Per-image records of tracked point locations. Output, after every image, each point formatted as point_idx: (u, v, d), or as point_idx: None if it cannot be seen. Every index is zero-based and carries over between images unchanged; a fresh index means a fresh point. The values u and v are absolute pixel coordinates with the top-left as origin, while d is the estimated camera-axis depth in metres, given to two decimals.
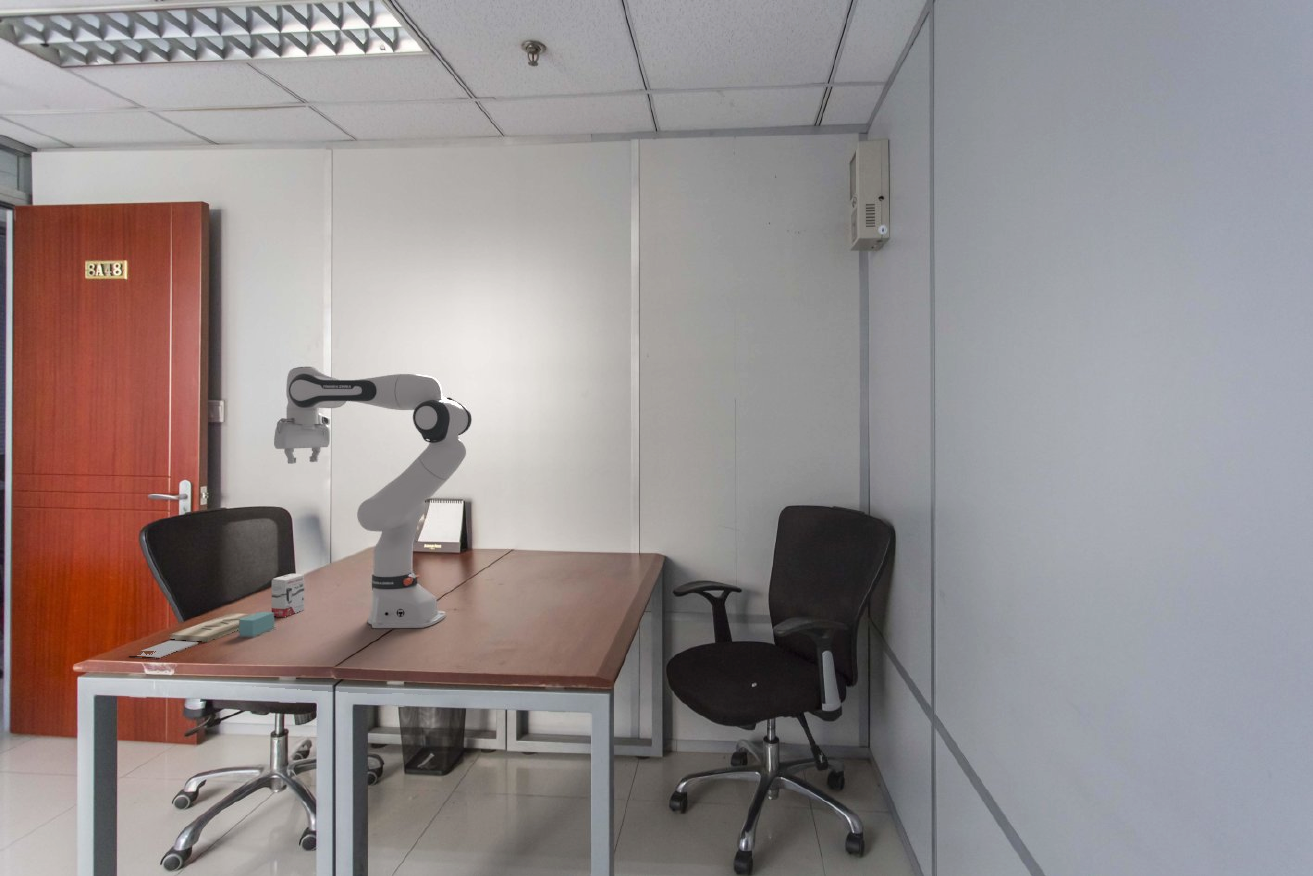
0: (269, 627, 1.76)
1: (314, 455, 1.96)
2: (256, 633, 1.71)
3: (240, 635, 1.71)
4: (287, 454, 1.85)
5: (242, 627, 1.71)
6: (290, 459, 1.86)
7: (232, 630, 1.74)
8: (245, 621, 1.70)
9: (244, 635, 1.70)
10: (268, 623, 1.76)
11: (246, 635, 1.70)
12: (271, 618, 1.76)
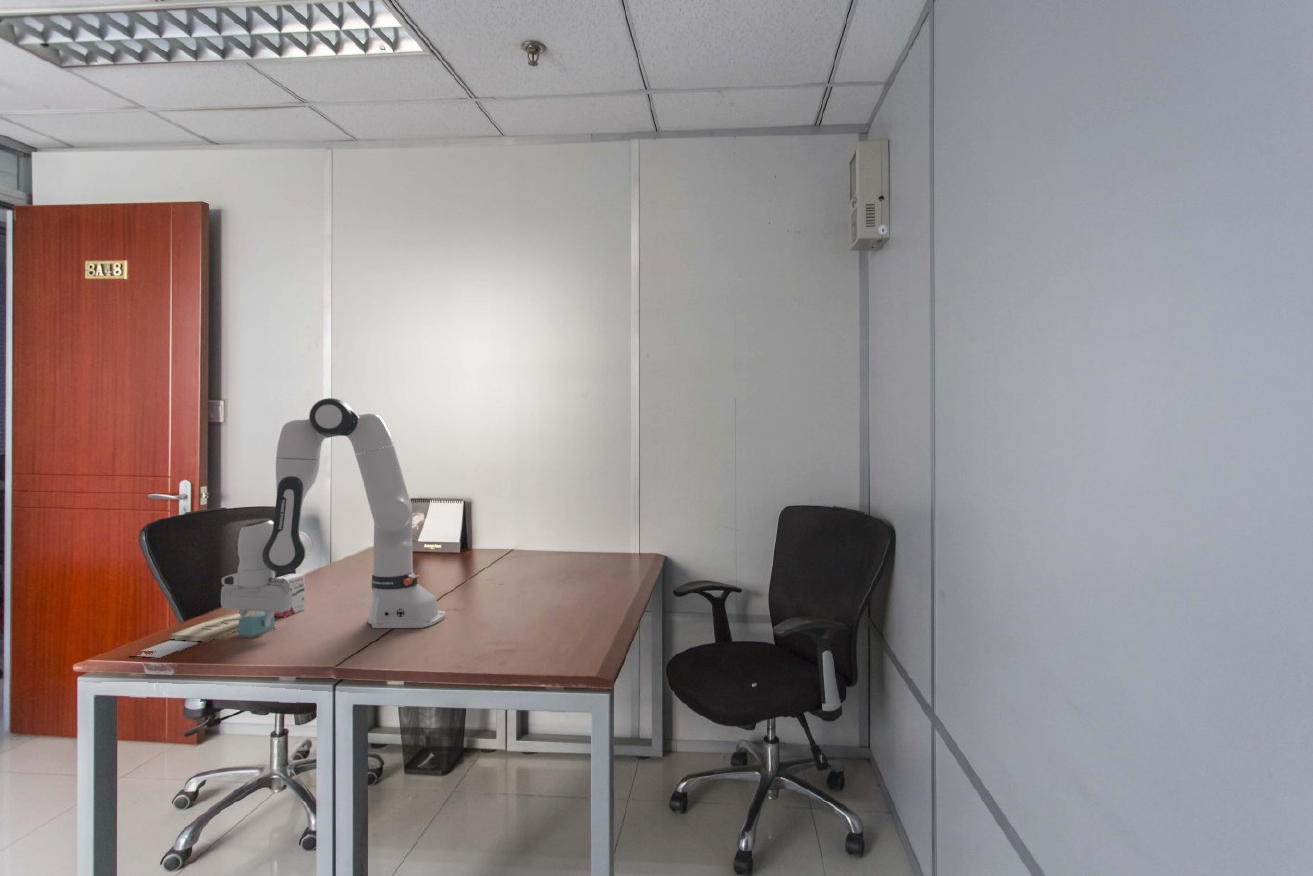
0: (269, 627, 1.76)
1: None
2: (255, 632, 1.71)
3: (240, 634, 1.71)
4: (269, 616, 1.73)
5: (242, 626, 1.71)
6: (268, 621, 1.74)
7: (232, 630, 1.74)
8: (244, 620, 1.70)
9: (244, 634, 1.70)
10: None
11: (245, 634, 1.70)
12: None
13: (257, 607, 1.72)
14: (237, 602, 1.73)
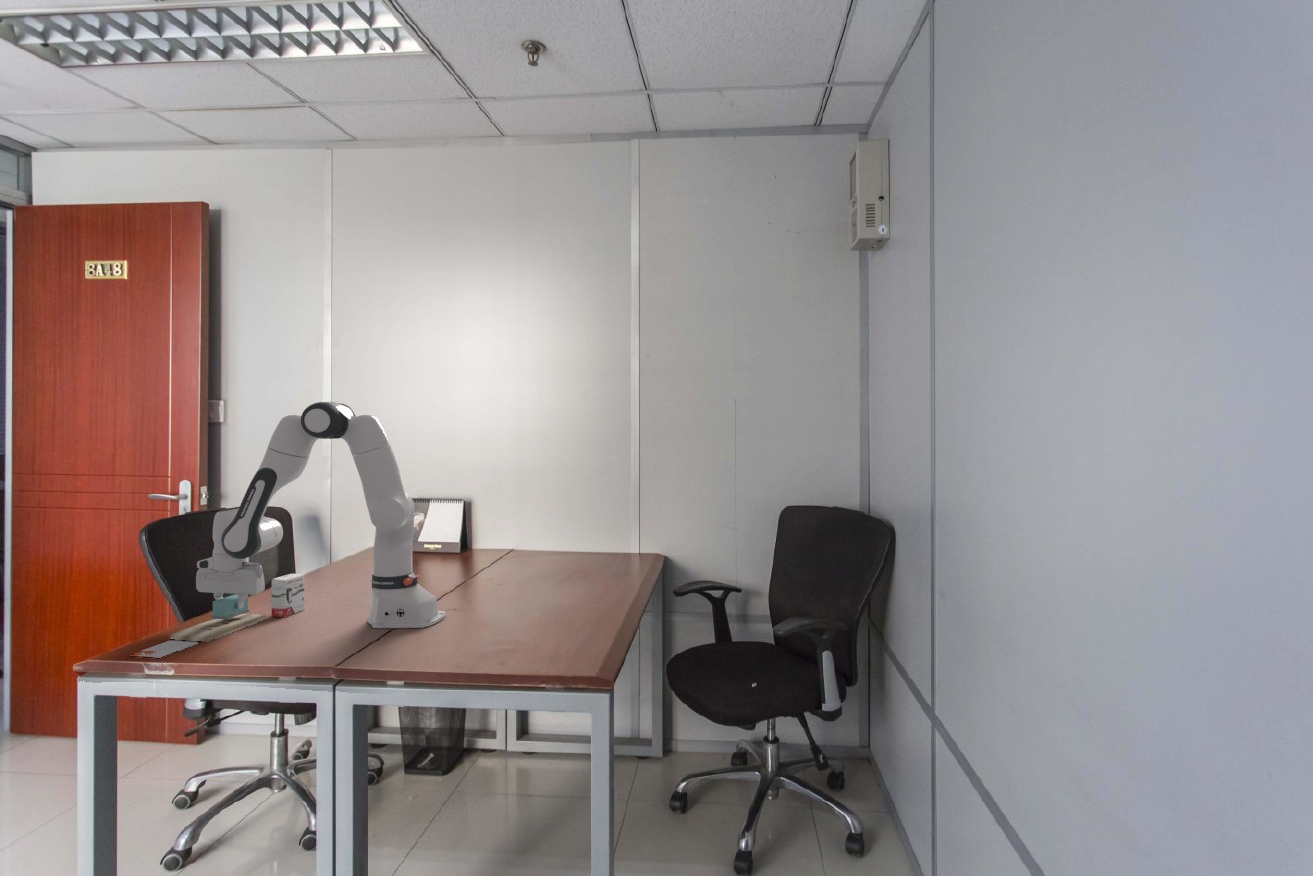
0: (242, 609, 1.82)
1: None
2: (229, 614, 1.78)
3: (214, 616, 1.78)
4: (242, 599, 1.80)
5: (215, 608, 1.77)
6: (242, 604, 1.80)
7: (232, 630, 1.74)
8: (218, 602, 1.77)
9: (217, 616, 1.77)
10: None
11: (219, 616, 1.77)
12: None
13: (231, 590, 1.79)
14: (211, 585, 1.80)
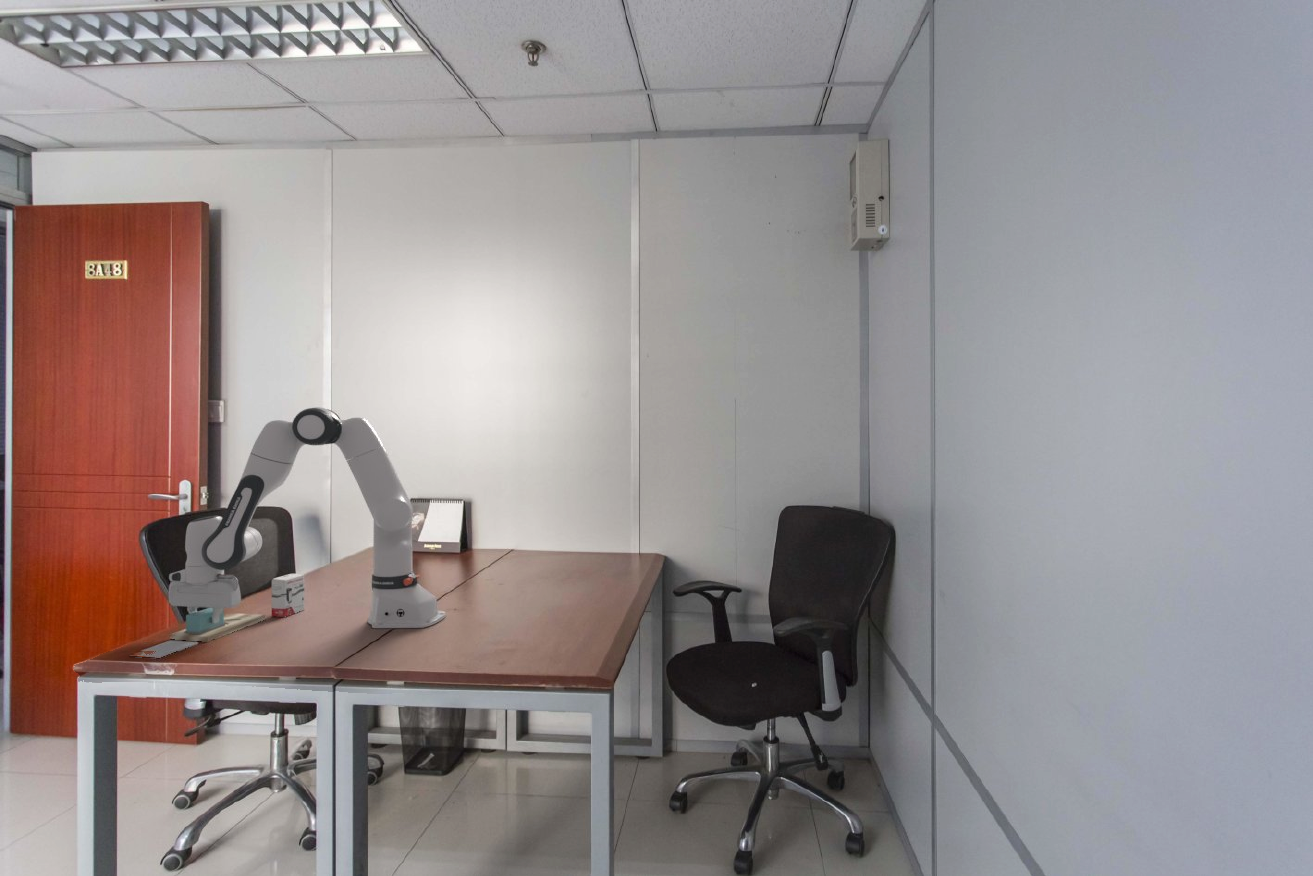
0: (218, 623, 1.74)
1: None
2: (203, 629, 1.69)
3: (187, 631, 1.69)
4: (217, 613, 1.71)
5: (189, 622, 1.69)
6: (217, 618, 1.72)
7: (232, 630, 1.74)
8: (192, 616, 1.68)
9: (191, 631, 1.68)
10: None
11: (193, 631, 1.68)
12: None
13: (205, 603, 1.70)
14: (184, 599, 1.71)
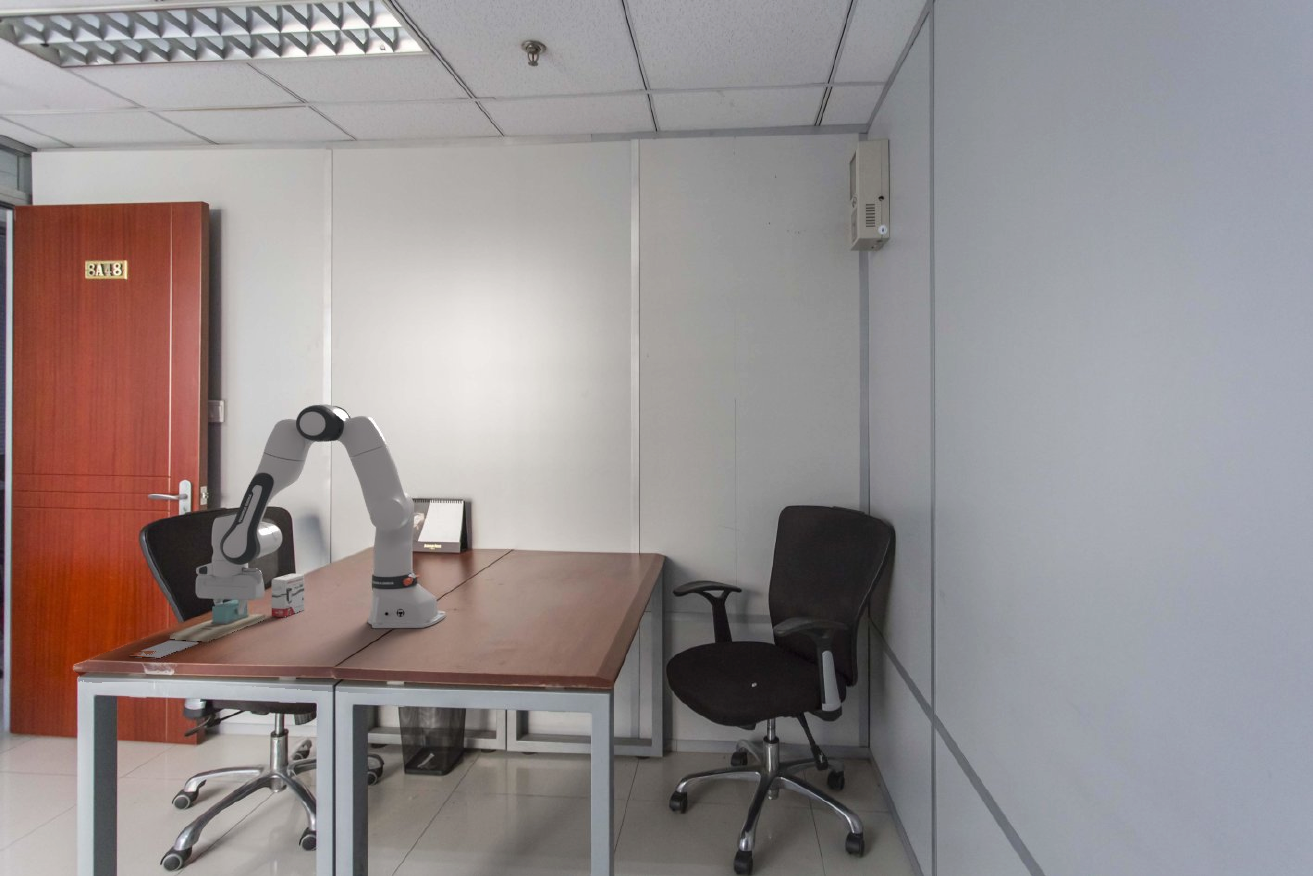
0: (242, 614, 1.82)
1: None
2: (229, 619, 1.77)
3: (213, 621, 1.77)
4: (242, 605, 1.80)
5: (215, 613, 1.77)
6: (241, 609, 1.80)
7: (232, 630, 1.74)
8: (218, 608, 1.77)
9: (217, 621, 1.77)
10: None
11: (219, 621, 1.77)
12: None
13: (230, 595, 1.78)
14: (211, 591, 1.79)
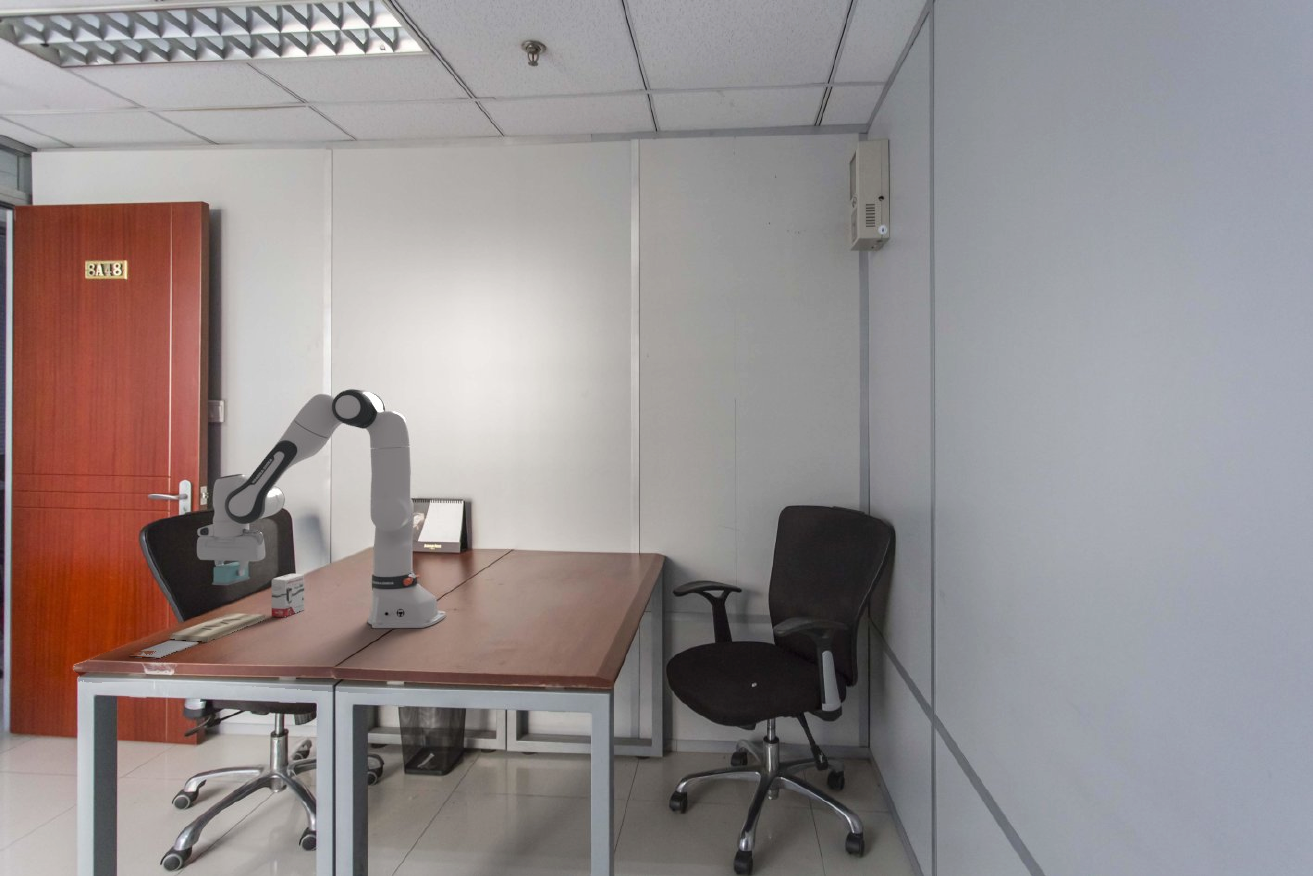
0: (243, 576, 1.82)
1: None
2: (230, 580, 1.78)
3: (215, 582, 1.77)
4: (243, 566, 1.80)
5: (216, 574, 1.77)
6: (243, 571, 1.80)
7: (232, 630, 1.74)
8: (219, 569, 1.77)
9: (218, 582, 1.77)
10: None
11: (220, 582, 1.77)
12: None
13: (231, 557, 1.79)
14: (212, 553, 1.80)
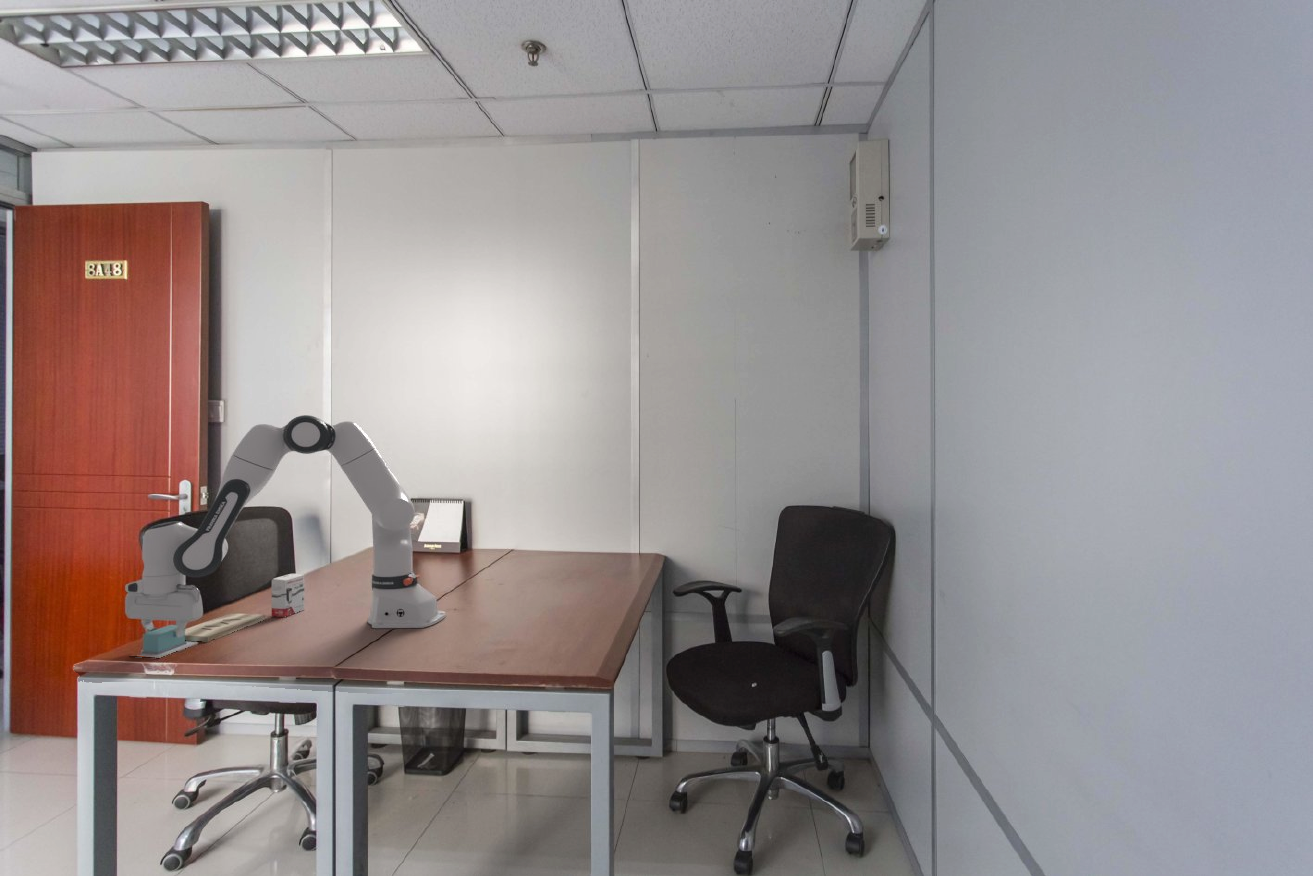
0: (178, 641, 1.62)
1: (151, 627, 1.61)
2: (162, 648, 1.57)
3: (144, 651, 1.57)
4: (181, 626, 1.59)
5: (146, 642, 1.56)
6: (181, 632, 1.60)
7: (232, 630, 1.74)
8: (150, 635, 1.56)
9: (148, 651, 1.56)
10: None
11: (151, 651, 1.56)
12: None
13: (163, 616, 1.58)
14: (142, 611, 1.59)
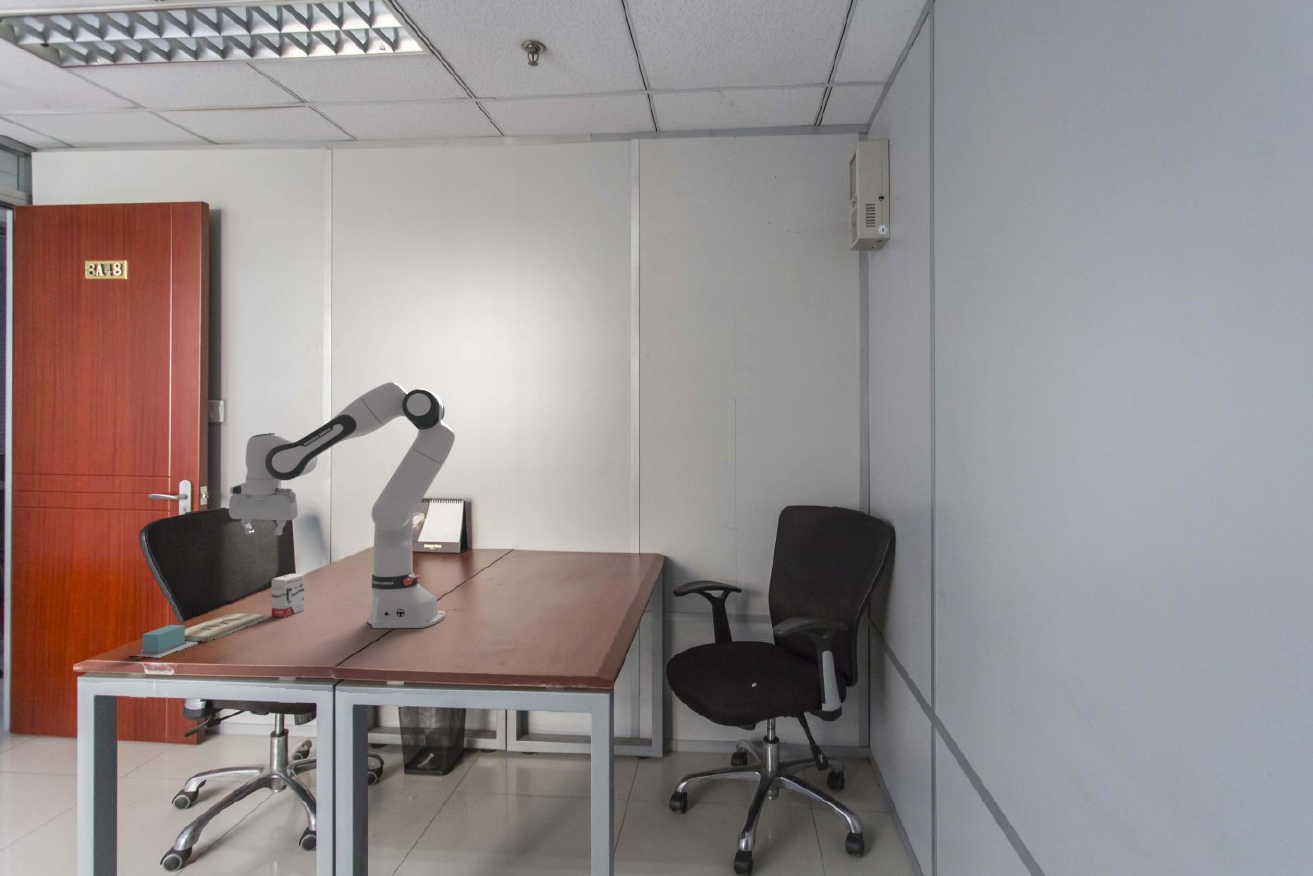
0: (178, 641, 1.62)
1: (249, 527, 1.81)
2: (162, 648, 1.57)
3: (144, 651, 1.57)
4: (281, 525, 1.79)
5: (146, 642, 1.56)
6: (280, 530, 1.79)
7: (232, 630, 1.74)
8: (150, 635, 1.56)
9: (148, 651, 1.56)
10: (178, 637, 1.62)
11: (151, 651, 1.56)
12: (181, 631, 1.63)
13: (264, 515, 1.78)
14: (244, 512, 1.79)
